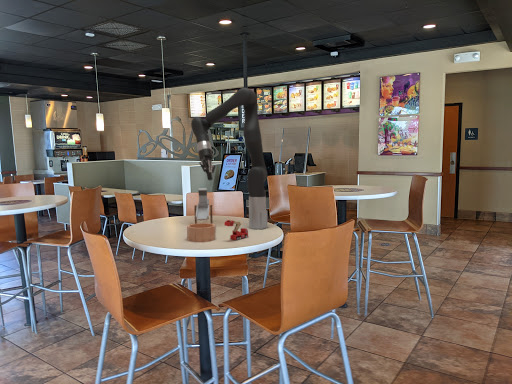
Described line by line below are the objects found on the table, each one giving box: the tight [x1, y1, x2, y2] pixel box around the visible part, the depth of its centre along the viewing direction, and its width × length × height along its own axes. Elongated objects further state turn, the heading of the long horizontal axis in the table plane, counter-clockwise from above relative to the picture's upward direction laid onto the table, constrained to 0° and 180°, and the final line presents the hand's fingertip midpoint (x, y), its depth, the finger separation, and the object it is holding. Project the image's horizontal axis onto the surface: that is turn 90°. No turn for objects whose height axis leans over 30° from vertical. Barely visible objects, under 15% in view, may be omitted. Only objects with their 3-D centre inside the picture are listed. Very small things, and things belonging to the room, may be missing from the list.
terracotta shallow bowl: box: [186, 222, 217, 243], centre depth 182 cm, size 13×13×6 cm
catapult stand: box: [193, 204, 214, 224], centre depth 198 cm, size 14×12×14 cm
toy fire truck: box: [224, 219, 249, 241], centre depth 181 cm, size 3×14×10 cm, turn 140°
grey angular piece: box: [196, 187, 210, 221], centre depth 194 cm, size 18×6×13 cm, turn 3°
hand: (210, 179), depth 207 cm, fingers closed
